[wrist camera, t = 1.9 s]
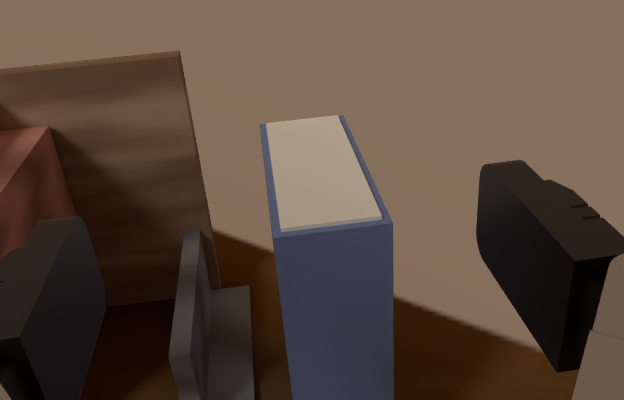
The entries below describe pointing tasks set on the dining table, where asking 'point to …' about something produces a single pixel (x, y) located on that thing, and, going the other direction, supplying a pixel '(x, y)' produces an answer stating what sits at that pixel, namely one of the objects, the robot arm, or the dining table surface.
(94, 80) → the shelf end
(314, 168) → the boxed book
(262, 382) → the dining table surface
